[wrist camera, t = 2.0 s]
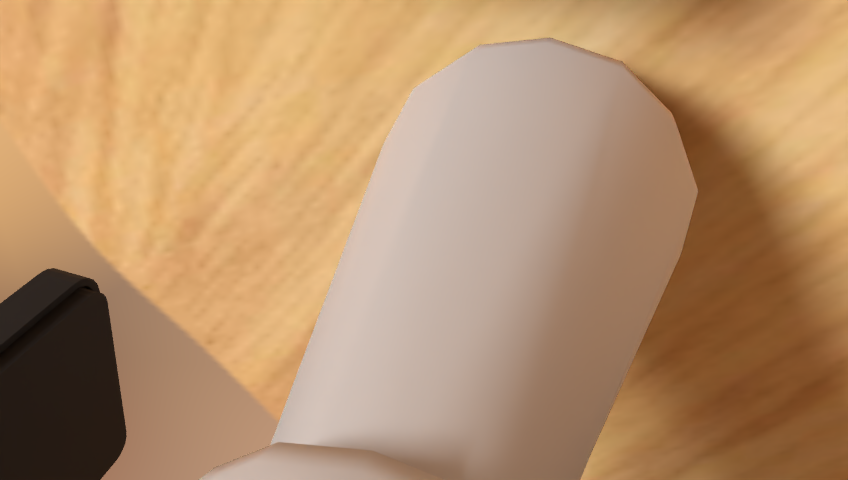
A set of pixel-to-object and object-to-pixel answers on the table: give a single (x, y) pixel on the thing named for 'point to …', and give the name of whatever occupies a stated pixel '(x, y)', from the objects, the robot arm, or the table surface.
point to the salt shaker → (491, 277)
